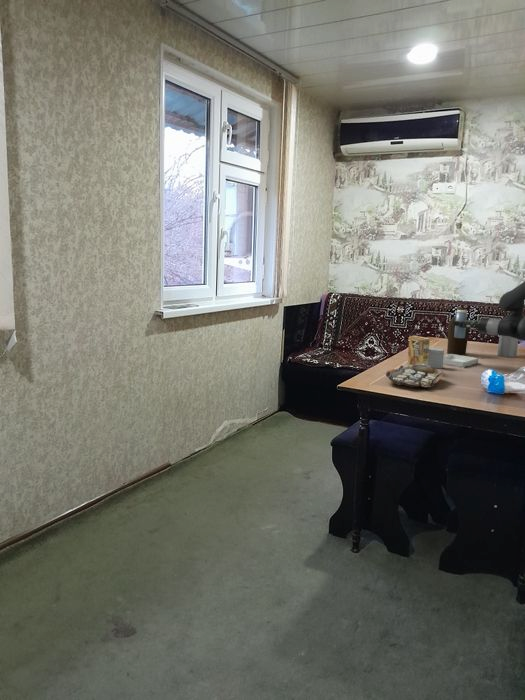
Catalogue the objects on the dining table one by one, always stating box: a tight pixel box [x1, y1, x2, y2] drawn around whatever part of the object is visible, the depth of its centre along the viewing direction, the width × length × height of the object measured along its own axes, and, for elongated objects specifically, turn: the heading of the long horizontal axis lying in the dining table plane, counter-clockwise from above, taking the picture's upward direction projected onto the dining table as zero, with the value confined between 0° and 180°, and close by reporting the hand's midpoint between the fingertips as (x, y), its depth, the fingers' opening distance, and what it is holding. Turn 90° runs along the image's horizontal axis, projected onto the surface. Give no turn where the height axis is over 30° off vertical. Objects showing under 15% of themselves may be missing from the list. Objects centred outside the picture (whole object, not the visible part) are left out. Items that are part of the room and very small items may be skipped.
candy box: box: [406, 335, 431, 366], centre depth 240 cm, size 9×4×15 cm, turn 33°
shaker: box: [454, 309, 468, 338], centre depth 255 cm, size 5×5×13 cm
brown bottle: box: [446, 306, 470, 356], centre depth 281 cm, size 11×11×25 cm
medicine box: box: [428, 347, 445, 369], centre depth 248 cm, size 8×4×9 cm, turn 65°
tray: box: [443, 354, 479, 368], centre depth 259 cm, size 16×14×2 cm
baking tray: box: [385, 363, 446, 389], centre depth 219 cm, size 30×22×5 cm
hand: (455, 322), depth 257 cm, fingers closed on shaker, 5 cm apart
